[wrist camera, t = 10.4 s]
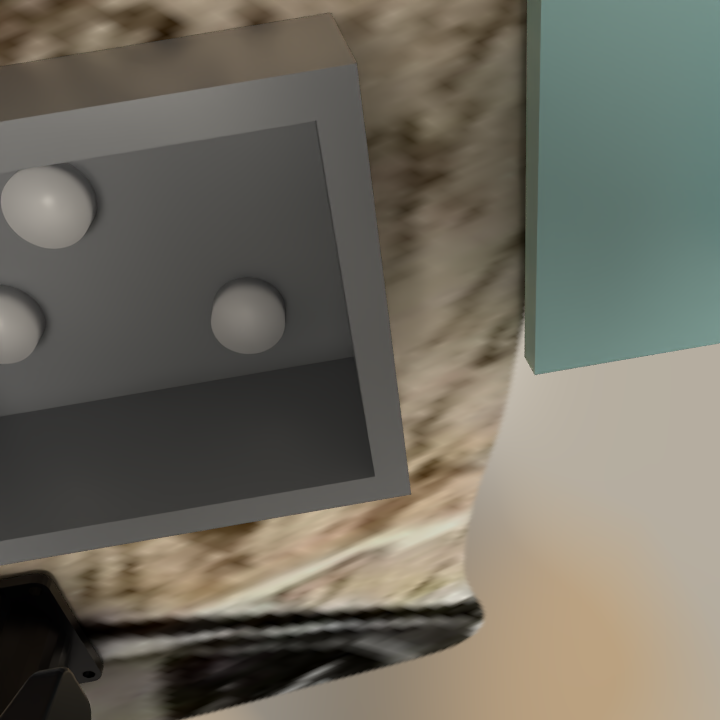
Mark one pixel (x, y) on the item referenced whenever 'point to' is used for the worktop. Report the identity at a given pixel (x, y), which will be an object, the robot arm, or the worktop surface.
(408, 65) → the worktop surface
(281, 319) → the tub
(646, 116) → the lid
